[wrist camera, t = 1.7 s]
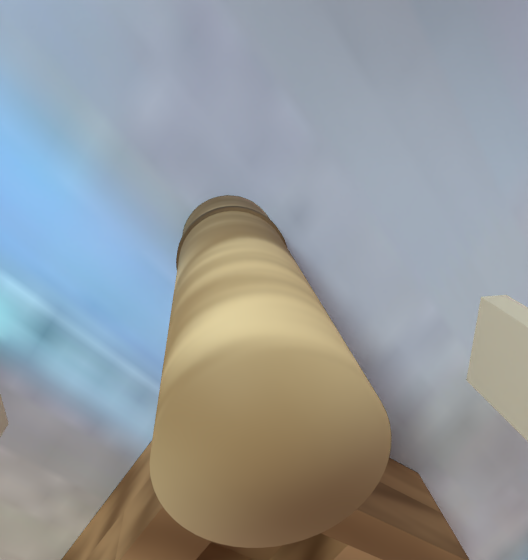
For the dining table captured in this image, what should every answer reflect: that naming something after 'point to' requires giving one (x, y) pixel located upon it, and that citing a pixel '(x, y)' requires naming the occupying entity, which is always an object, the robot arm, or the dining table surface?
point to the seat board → (296, 556)
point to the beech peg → (258, 392)
